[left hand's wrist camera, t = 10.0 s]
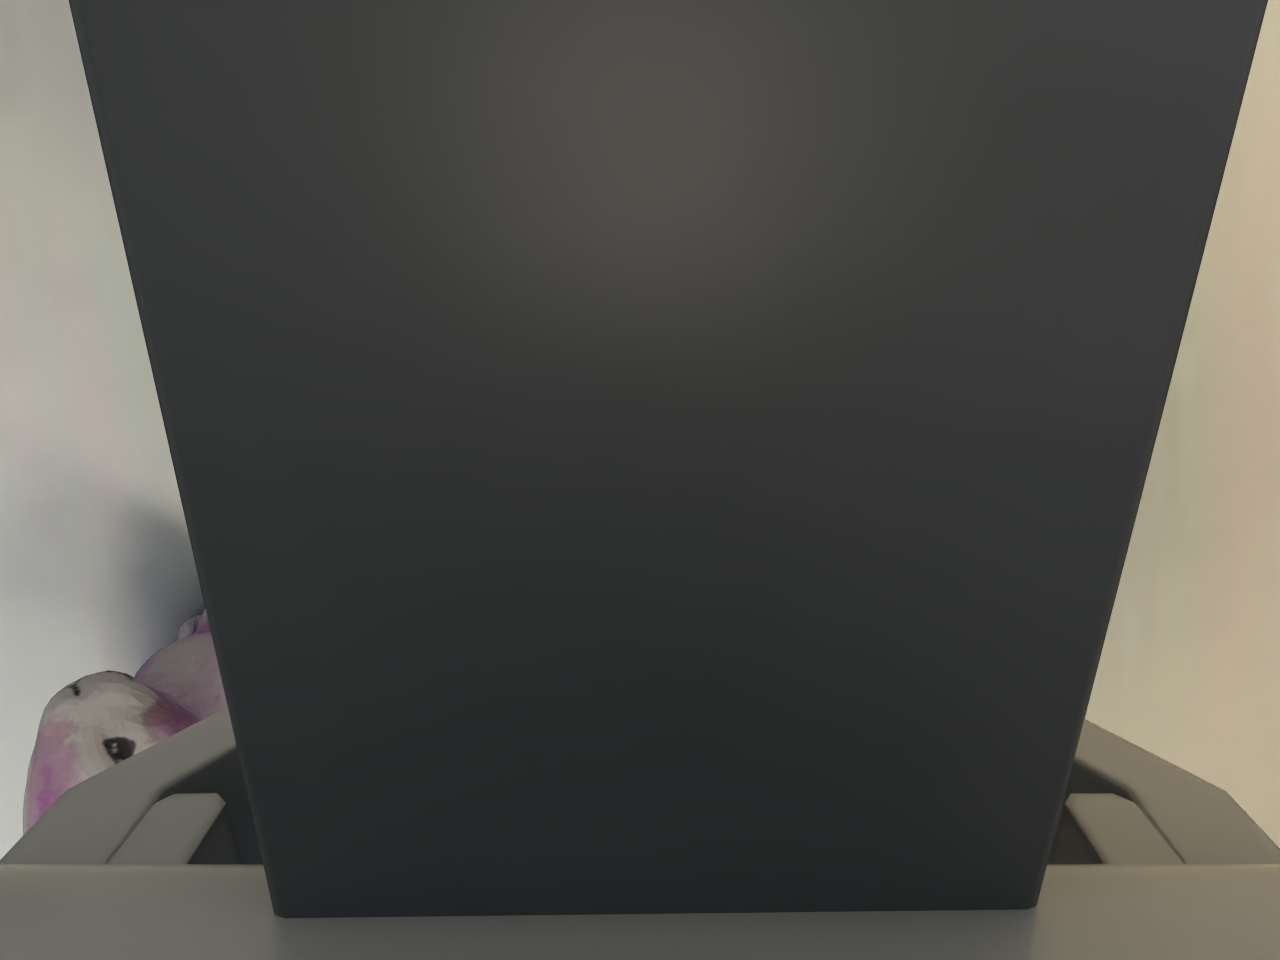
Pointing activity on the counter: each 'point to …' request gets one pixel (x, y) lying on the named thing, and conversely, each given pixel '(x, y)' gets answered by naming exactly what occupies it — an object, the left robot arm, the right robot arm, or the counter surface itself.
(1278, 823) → the counter surface
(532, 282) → the post
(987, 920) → the left robot arm
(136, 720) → the figurine
